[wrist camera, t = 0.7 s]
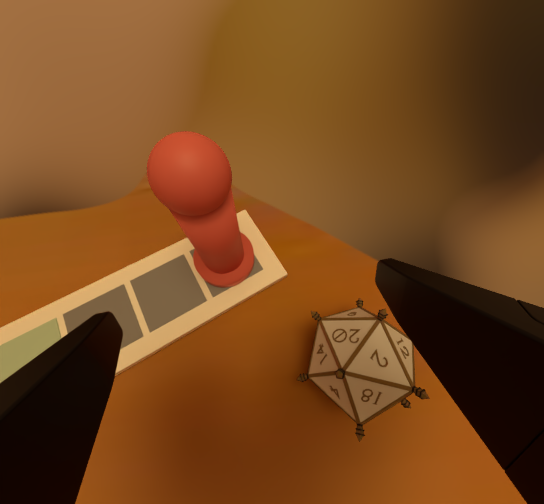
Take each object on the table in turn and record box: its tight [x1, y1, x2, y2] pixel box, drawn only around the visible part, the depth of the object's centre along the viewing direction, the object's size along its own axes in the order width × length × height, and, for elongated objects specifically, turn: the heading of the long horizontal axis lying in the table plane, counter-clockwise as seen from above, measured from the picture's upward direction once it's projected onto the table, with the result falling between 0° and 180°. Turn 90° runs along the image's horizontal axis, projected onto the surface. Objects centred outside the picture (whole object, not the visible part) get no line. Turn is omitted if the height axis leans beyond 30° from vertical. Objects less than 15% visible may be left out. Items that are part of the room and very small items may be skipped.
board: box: [0, 210, 287, 383], centre depth 22 cm, size 27×9×1 cm, turn 121°
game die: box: [297, 298, 430, 442], centre depth 18 cm, size 9×8×10 cm
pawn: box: [147, 131, 254, 288], centre depth 17 cm, size 6×6×14 cm
